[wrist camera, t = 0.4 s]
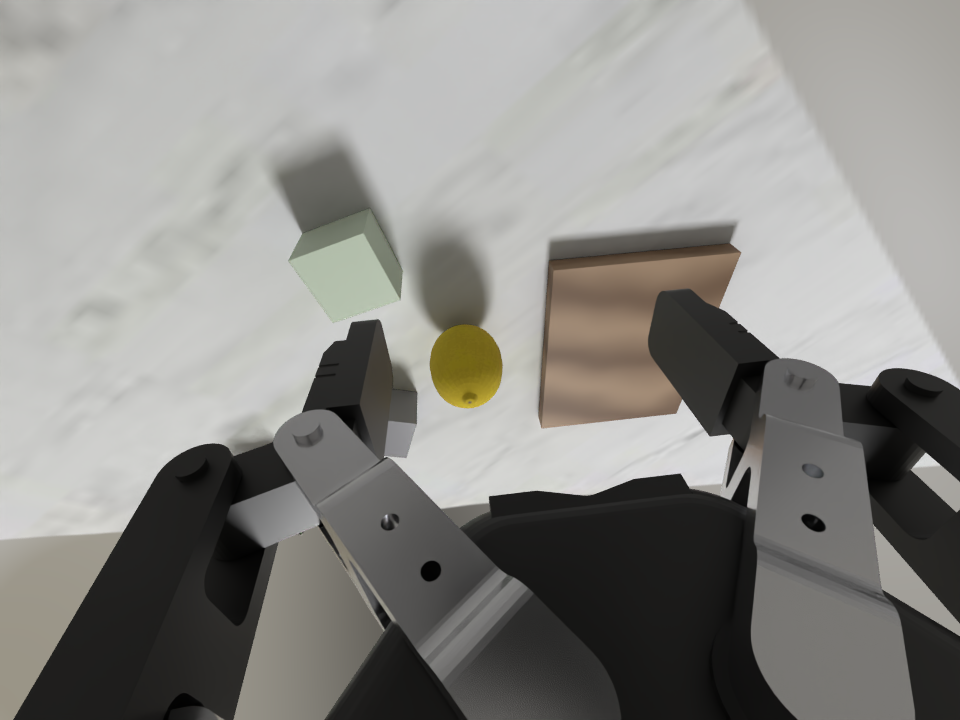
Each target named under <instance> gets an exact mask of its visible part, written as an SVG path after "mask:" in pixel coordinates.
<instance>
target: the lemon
mask: <svg viewBox="0 0 960 720" xmlns="http://www.w3.org/2000/svg"><path fill="white" fill-rule="evenodd" d="M430 371H431V376H432V380H433V383H434V386H435V388H436V389H437V391H438V393H439V394H440V396H441V397H442V398H443V399H444V400H445V401H447V402H448V403H450V404H452V405H454V406H456V407H460V408H474V407H478V406H480V405H483V404H484V403H486V402H487V401H489V400H490V399H491V398H492V397H493V396H494V395H495V393H496V392H497V390H498V388H499V385H500V382H501V376H502V359H501V354H500V350H499V348H498V346H497V344H496V342H495V341H494V339H493V338H492V336H490V335H489V334H488V333H487V332H486V331H485V330H483V329H481V328H479V327H477V326H474V325H466V324H463V325H457V326H454V327H451V328H449V329H448V330H446V331H444V332H443V333H442V334H441V335H440V336H439V338H438V339H437V340H436V342H435V344H434V346H433V348H432V352H431V358H430Z"/></svg>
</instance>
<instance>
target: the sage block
mask: <svg viewBox="0 0 960 720" xmlns="http://www.w3.org/2000/svg"><path fill="white" fill-rule="evenodd" d="M289 263H290V264H291V266H292V267H293V268H294V270H295V271H296V273H297V274H298V275H299V277H300V278H301V279H302V281H303V282H304V284H305V285H306V286H307V288H308V289H309V291H310V292H311V293H312V295H313V296H314V297H315V299H316V300H317V302H318V303H319V304H320V306H321V307H322V309H323V310H324V311H325V313H326V314H327V315H328V317H329V318H330V320H331V321H332V322H333V323H335V322H338V321H341V320H344V319H347V318H350V317H353V316H355V315H358V314H361V313H364V312H367V311H370V310H373V309H376V308H379V307H382V306H385V305H388V304H390V303H393V302H396V301H399V300H400V298H401V286H402V274H403V271H402V269H401V267H400V265H399V263H398V261H397V259H396V257H395V256H394V254H393V252H392V250H391V248H390V246H389V244H388V242H387V240H386V238H385V236H384V234H383V232H382V230H381V228H380V227H379V225H378V223H377V221H376V219H375V217H374V215H373V213H372V211H371V209H370V208H369V209H366V210H363V211H361V212H358V213H355V214H353V215H350V216H347V217H345V218H342V219H340V220H337V221H334V222H332V223H329V224H326V225H324V226H321V227H318V228H316V229H313V230H311V231H308V232H305V233H303V234H302V235H301V237H300V239H299V241H298V243H297V245H296V247H295V249H294V251H293V253H292V255H291V257H290V259H289Z"/></svg>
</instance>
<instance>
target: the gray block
mask: <svg viewBox="0 0 960 720" xmlns="http://www.w3.org/2000/svg"><path fill="white" fill-rule="evenodd" d="M416 424H417V392H411V391H404V390H397V389H392V395H391V403H390V411H389V419H388V428H387V436H386V444H385V453H384V456H391V457H402V458H406V457H407V454H408V451H409V448H410V444H411V441H412V438H413V434H414V431H415V428H416Z"/></svg>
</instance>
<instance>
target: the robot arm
mask: <svg viewBox="0 0 960 720" xmlns="http://www.w3.org/2000/svg"><path fill="white" fill-rule="evenodd" d="M648 348H649V352H650V355H651V357H652V358H653V360H654V361H655V362H656V364H657V365H658V366H659V368H660V369H661V370H662V372H663V373H664V375H665V376H666V377H667V379H668V380H669V381H670V383H671V384H672V386H673V387H674V388H675V390H676V391H677V392H678V394H679V395H680V396H681V398H682V399H683V401H684V402H685V403H686V405H687V406H688V407H689V409H690V410H691V411H692V413H693V414H694V416H695V417H696V418H697V420H698V421H699V422H700V424H701V425H702V427H703V428H704V429H705V431H706V432H707V433H708V435H709V436H718V435H727V434H730V435H731V436H732V437H733V440H732V442H731V444H730V447H729V451H728V456H727V461H726V467H725V472H724V477H723V483H722V488H721V493H720V496H718V495H715V494H712V493H708V492H704V491H699V490H695V489H689V487H688V485H687V484H686V482H685V480H684V479H683V477H682V475H681V474H673V475H664V476H656V477H647V478H639V479H633V480H630V481H628V482H625V483H623V484H620V485H617V486H615V487H612V488H610V489H607V490H605V491H602V492H599V493H597V494H594V495H590V496H582V495H572V494H563V493H553V492H544V491H530V492H522V493H514V494H505V495H497V496H489V504H490V512H487V513H485V514H482V515H480V516H478V517H476V518H474V519H473V520H471V521H469V522H468V523H466V524H465V525H463V526H462V527H461V528H459V527H458V526H457V525H456V524H455V523H454V522H453V521H452V520H451V519H450V518H449V517H448V516H447V515H446V514H445V513H444V512H443V511H442V510H441V509H440V508H439V507H438V506H437V505H436V504H435V503H434V502H433V501H432V500H431V499H430V498H429V497H428V496H427V495H426V494H425V492H424V491H423V490H422V489H421V488H420V487H419V486H418V485H417V484H416V483H415V482H414V481H413V480H412V479H411V478H410V477H409V476H408V475H407V474H406V473H405V472H404V471H403V470H402V469H401V468H400V467H399V466H398V465H397V464H396V463H395V462H394V461H393V460H392V459H390V458H388V457H385V458H384V453H385V444H386V436H387V428H388V419H389V411H390V403H391V395H392V386H393V374H392V366H391V361H390V357H389V353H388V349H387V345H386V341H385V337H384V332H383V328H382V325H381V322H380V320H379V319H377V320H367V321H358V322H352V323H351V326H350V329H349V332H348V336H347V339H346V340H344V341H335V342H334V343H333V344H332V345H331V346H330V347H329V348H328V349H327V350H326V351H325V352H324V353H323V356H322V359H321V362H320V364H319V368H318V370H317V372H316V375H315V376H316V378H314V381H313V383H312V386H311V389H310V391H309V394H308V397H307V400H306V402H305V405H304V408H303V411H302V413H300V414H298V415H296V416H294V417H292V418H291V419H289V420H288V421H286V422H285V423H284V424H283V425H282V426H281V427H280V428H279V429H278V431H277V433H276V434H275V437H274V441H273V442H272V443H270V444H267V445H265V446H262V447H259V448H256V449H253V450H251V451H248V452H245V453H242V454H239V455H236V456H233V455H232V453H231V452H230V450H229V449H228V448H227V447H226V446H224V445H221V444H204V445H200V446H197V447H194V448H191V449H189V450H187V451H185V452H183V453H181V454H179V455H178V456H176V457H175V458H173V459H172V460H171V461H169V462H168V463H167V464H166V465H165V466H164V467H163V468H162V469H161V470H160V472H159V473H158V474H157V476H156V478H155V479H154V481H153V483H152V484H151V486H150V488H149V489H148V491H147V493H146V495H145V496H144V498H143V500H142V501H141V503H140V505H139V507H138V508H137V510H136V512H135V513H134V515H133V517H132V518H131V520H130V522H129V524H128V525H127V527H126V529H125V530H124V532H123V534H122V536H121V537H120V539H119V541H118V542H117V544H116V546H115V547H114V549H113V551H112V552H111V554H110V556H109V558H108V559H107V561H106V563H105V565H104V566H103V568H102V570H101V571H100V573H99V575H98V576H97V578H96V580H95V582H94V583H93V585H92V587H91V588H90V590H89V592H88V594H87V595H86V597H85V599H84V600H83V602H82V604H81V605H80V607H79V609H78V610H77V612H76V614H75V616H74V617H73V619H72V621H71V622H70V624H69V626H68V628H67V629H66V631H65V633H64V634H63V636H62V638H61V639H60V641H59V643H58V644H57V646H56V648H55V650H54V651H53V653H52V655H51V656H50V658H49V660H48V662H47V663H46V665H45V667H44V668H43V670H42V672H41V673H40V675H39V677H38V679H37V680H36V682H35V684H34V685H33V687H32V689H31V690H30V692H29V694H28V696H27V697H26V699H25V701H24V702H23V704H22V706H21V707H20V709H19V711H18V713H17V714H16V716H15V718H14V719H13V720H233V719H234V715H235V711H236V707H237V703H238V699H239V695H240V691H241V687H242V683H243V680H244V676H245V671H246V667H247V664H248V660H249V656H250V652H251V648H252V644H253V640H254V636H255V632H256V628H257V624H258V620H259V617H260V613H261V609H262V604H263V600H264V597H265V593H266V589H267V585H268V581H269V577H270V573H271V569H272V565H273V561H274V557H275V553H276V550H277V546H278V542H279V541H282V540H284V539H286V538H289V537H291V536H294V535H296V534H298V533H301V532H303V531H306V530H308V529H310V528H313V527H315V526H317V527H318V529H319V531H320V532H321V533H322V535H323V537H324V538H325V540H326V541H327V542H328V544H329V545H330V547H331V549H332V550H333V552H334V553H335V555H336V556H337V558H338V559H339V561H340V562H341V564H342V565H343V567H344V569H345V570H346V572H347V573H348V575H349V576H350V578H351V579H352V581H353V582H354V584H355V586H356V587H357V589H358V590H359V592H360V594H361V596H362V597H363V599H364V601H365V602H366V604H367V606H368V607H369V609H370V610H371V612H372V614H373V615H374V617H375V618H376V620H377V621H378V623H379V625H380V626H381V627H382V629H383V631H384V632H383V634H382V635H381V637H380V638H379V640H378V641H377V643H376V644H375V646H374V647H373V649H372V650H371V652H370V653H369V654H368V656H367V657H366V659H365V660H364V662H363V663H362V665H361V666H360V668H359V669H358V671H357V672H356V674H355V675H354V677H353V678H352V680H351V681H350V683H349V684H348V686H347V687H346V689H345V690H344V692H343V693H342V694H341V696H340V697H339V699H338V700H337V702H336V703H335V705H334V706H333V708H332V709H331V711H330V712H329V714H328V715H327V717H326V718H325V720H960V636H958V635H957V634H955V633H953V632H952V631H950V630H948V629H947V628H945V627H943V626H942V625H940V624H938V623H937V622H935V621H934V620H932V619H930V618H928V617H927V616H925V615H924V614H922V613H920V612H918V611H917V610H915V609H914V608H912V607H910V606H909V605H907V604H905V603H903V602H902V601H900V600H898V599H897V598H895V597H894V596H892V595H890V594H889V593H887V592H885V591H884V590H882V588H881V581H880V574H879V566H878V558H877V551H876V543H875V536H874V528H873V524H874V526H875V527H876V528H877V529H878V530H879V531H880V533H881V534H882V535H883V536H884V537H885V538H886V539H887V540H888V542H889V543H890V544H891V545H892V546H893V547H894V549H895V550H896V551H897V552H898V553H899V554H900V555H901V557H902V558H903V559H904V560H905V561H906V562H907V563H908V564H909V566H910V567H911V568H912V569H913V570H914V571H915V573H916V574H917V575H918V576H919V577H920V578H921V579H922V581H923V582H924V583H925V584H926V585H927V586H928V588H929V589H930V590H931V591H932V592H933V593H934V594H935V596H936V597H937V598H938V599H939V600H940V601H941V602H942V603H943V605H944V606H945V607H946V608H947V609H948V610H949V612H950V613H951V614H952V615H953V616H954V617H955V618H956V619H957V621H958V622H959V623H960V510H959V511H958V512H957V513H956V512H955V511H954V510H953V509H952V508H951V507H950V506H949V505H948V504H947V503H946V502H944V501H943V500H942V499H941V498H940V497H939V496H938V495H937V494H936V493H935V492H934V491H932V489H930V488H929V487H928V486H927V485H926V484H925V483H924V482H923V481H922V480H921V479H920V478H919V477H918V476H917V475H915V474H914V473H913V472H912V471H911V469H912V467H913V466H914V465H915V464H916V463H917V462H918V461H919V459H920V458H921V457H922V456H923V455H924V454H925V453H927V454H928V455H930V456H931V457H932V458H933V459H934V460H935V461H937V462H938V463H939V464H940V465H941V466H942V467H944V468H945V469H946V470H947V471H948V472H949V473H951V474H952V475H953V476H954V477H955V478H956V479H957V480H959V482H960V390H959V389H958V388H956V387H955V386H953V385H951V384H950V383H948V382H946V381H944V380H942V379H940V378H938V377H935V376H933V375H930V374H927V373H924V372H920V371H916V370H910V369H902V368H892V369H887V370H884V371H882V372H881V373H880V374H879V375H878V377H877V378H876V380H875V381H874V383H873V384H872V386H863V385H853V384H843V383H838V381H837V379H836V378H835V377H834V376H833V375H832V374H830V373H829V372H828V371H826V370H825V369H823V368H821V367H819V366H817V365H815V364H812V363H809V362H806V361H802V360H797V359H789V358H782V359H780V358H779V357H778V356H776V355H775V354H774V353H773V352H772V351H771V350H769V349H768V348H767V347H766V346H765V345H764V344H763V343H761V342H760V341H759V340H758V339H757V338H756V337H754V336H753V335H752V334H751V333H747V330H746V329H745V328H744V327H743V326H742V325H741V324H738V323H737V321H736V320H735V319H734V318H733V317H731V316H730V315H729V314H728V313H727V312H726V311H723V310H721V309H719V308H717V307H715V306H713V305H711V304H709V303H706V302H705V301H704V300H702V299H701V298H700V297H699V296H698V295H697V294H696V293H695V292H694V291H692V290H691V289H689V288H686V289H676V290H667V291H661V292H660V293H659V294H658V296H657V299H656V303H655V308H654V312H653V317H652V322H651V326H650V331H649V335H648Z"/></svg>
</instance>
